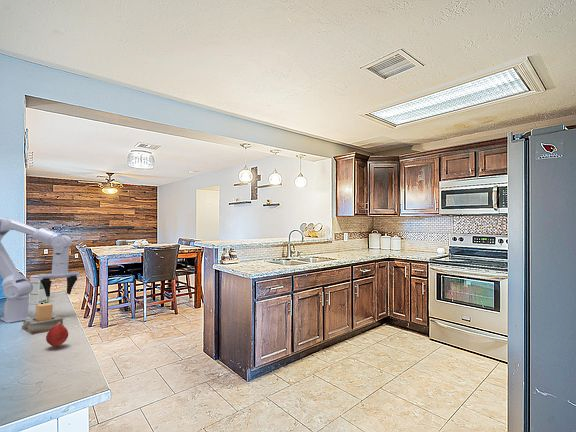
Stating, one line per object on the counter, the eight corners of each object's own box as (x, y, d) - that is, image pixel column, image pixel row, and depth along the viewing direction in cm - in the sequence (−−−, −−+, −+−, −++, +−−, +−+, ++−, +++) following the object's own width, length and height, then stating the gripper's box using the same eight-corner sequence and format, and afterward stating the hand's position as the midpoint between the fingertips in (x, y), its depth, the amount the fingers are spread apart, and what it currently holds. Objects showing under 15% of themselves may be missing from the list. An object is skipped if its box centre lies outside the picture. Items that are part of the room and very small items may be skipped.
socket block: (21, 328, 121) (22, 319, 121) (52, 322, 129) (53, 314, 129) (31, 334, 114) (32, 324, 115) (63, 328, 123) (64, 318, 123)
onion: (43, 351, 99) (45, 325, 99) (47, 345, 104) (49, 321, 104) (66, 349, 102) (67, 323, 102) (68, 343, 107) (70, 319, 107)
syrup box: (37, 304, 158) (39, 275, 159) (28, 304, 159) (30, 275, 160) (48, 302, 163) (50, 274, 164) (39, 301, 165) (41, 273, 165)
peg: (34, 325, 121) (36, 304, 122) (47, 323, 125) (48, 303, 125) (38, 327, 119) (40, 306, 119) (51, 325, 122) (52, 304, 123)
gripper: (43, 265, 128) (41, 298, 128) (83, 262, 140) (81, 293, 139) (37, 263, 132) (35, 296, 132) (76, 261, 144) (74, 291, 143)
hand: (58, 295), depth 136 cm, fingers open, 7 cm apart
